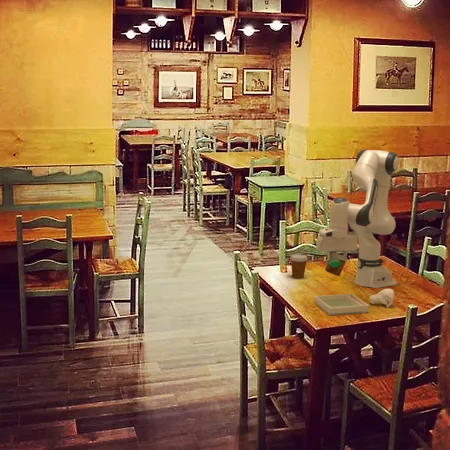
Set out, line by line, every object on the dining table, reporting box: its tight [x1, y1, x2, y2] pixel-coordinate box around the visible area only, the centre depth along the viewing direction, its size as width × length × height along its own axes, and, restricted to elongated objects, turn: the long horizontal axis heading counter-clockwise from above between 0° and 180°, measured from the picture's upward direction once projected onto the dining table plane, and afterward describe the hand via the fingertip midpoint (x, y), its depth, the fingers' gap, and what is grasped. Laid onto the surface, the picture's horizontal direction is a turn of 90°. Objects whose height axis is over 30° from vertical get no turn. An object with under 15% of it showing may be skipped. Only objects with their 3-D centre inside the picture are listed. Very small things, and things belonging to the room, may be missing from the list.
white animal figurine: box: [368, 288, 395, 308], centre depth 339 cm, size 6×8×12 cm
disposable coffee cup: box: [289, 253, 308, 280], centre depth 381 cm, size 10×10×12 cm
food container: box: [325, 251, 348, 277], centre depth 335 cm, size 12×6×10 cm, turn 18°
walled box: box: [314, 293, 370, 316], centre depth 334 cm, size 20×18×4 cm
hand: (335, 259), depth 335 cm, fingers closed on food container, 5 cm apart
